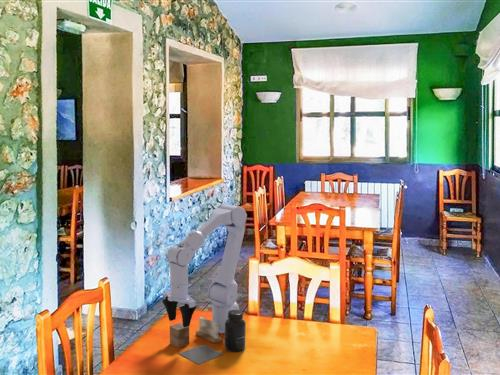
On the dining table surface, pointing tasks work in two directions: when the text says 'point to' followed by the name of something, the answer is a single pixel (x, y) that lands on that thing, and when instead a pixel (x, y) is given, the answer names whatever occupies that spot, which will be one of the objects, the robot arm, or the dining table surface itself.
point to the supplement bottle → (235, 331)
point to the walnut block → (179, 335)
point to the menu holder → (208, 330)
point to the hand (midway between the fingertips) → (179, 323)
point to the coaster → (200, 354)
